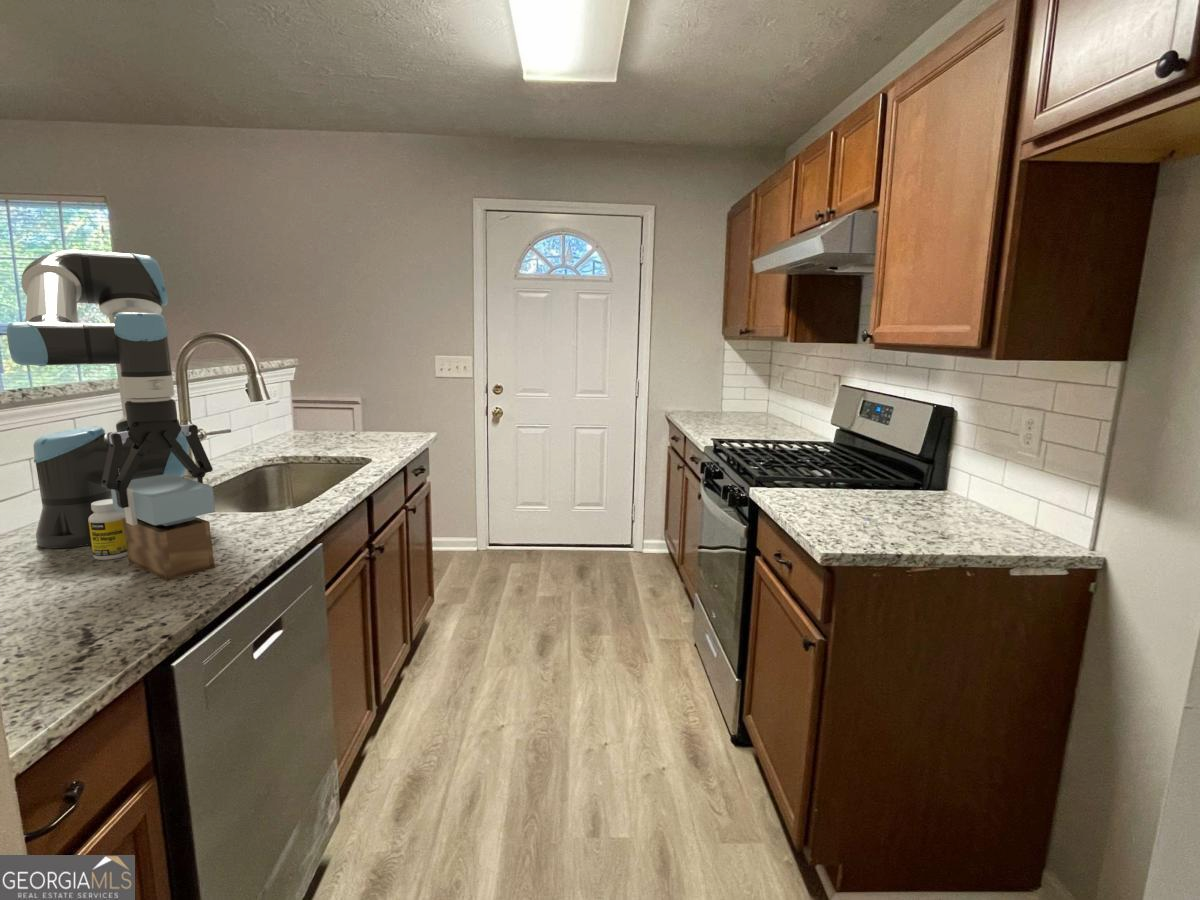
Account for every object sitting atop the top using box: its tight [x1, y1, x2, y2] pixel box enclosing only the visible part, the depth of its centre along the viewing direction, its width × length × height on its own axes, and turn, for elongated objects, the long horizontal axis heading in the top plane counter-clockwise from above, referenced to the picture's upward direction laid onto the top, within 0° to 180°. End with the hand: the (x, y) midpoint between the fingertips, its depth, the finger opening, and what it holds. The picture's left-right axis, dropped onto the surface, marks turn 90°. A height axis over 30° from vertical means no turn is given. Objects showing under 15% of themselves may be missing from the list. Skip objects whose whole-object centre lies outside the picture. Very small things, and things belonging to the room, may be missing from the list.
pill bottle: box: [88, 499, 128, 561], centre depth 122 cm, size 6×6×11 cm
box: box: [123, 516, 215, 582], centre depth 117 cm, size 16×8×9 cm, turn 57°
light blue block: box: [111, 474, 216, 526], centre depth 116 cm, size 17×10×6 cm, turn 57°
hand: (165, 516), depth 116 cm, fingers closed on light blue block, 10 cm apart
